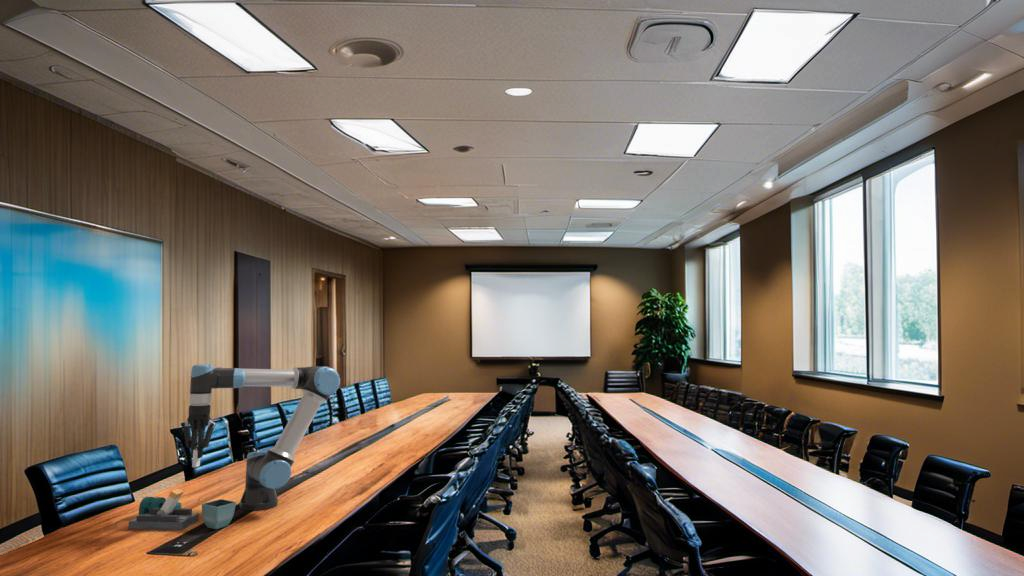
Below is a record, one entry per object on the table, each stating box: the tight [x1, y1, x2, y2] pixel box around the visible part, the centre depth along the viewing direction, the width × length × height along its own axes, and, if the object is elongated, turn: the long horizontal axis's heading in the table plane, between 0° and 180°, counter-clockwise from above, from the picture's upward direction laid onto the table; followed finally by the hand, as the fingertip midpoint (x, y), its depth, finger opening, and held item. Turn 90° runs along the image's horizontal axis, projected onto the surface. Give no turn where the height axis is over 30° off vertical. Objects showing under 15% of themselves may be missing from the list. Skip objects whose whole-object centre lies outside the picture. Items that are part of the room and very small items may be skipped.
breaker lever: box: [156, 487, 185, 515], centre depth 231 cm, size 3×6×10 cm
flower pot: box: [201, 498, 237, 530], centre depth 230 cm, size 9×9×9 cm
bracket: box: [138, 496, 182, 515], centre depth 247 cm, size 18×7×8 cm, turn 172°
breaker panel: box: [127, 512, 200, 531], centre depth 231 cm, size 20×12×3 cm, turn 90°
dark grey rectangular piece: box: [136, 508, 193, 522], centre depth 231 cm, size 15×11×2 cm
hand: (196, 466), depth 233 cm, fingers closed
